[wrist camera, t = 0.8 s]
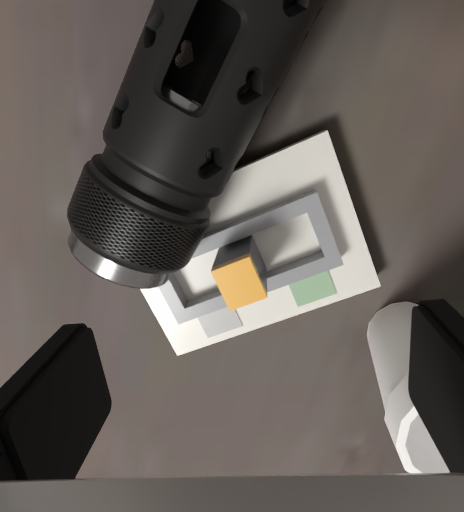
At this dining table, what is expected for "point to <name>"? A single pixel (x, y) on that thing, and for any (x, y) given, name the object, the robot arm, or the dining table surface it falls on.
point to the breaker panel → (272, 247)
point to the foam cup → (401, 389)
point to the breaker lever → (240, 273)
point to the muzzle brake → (180, 132)
